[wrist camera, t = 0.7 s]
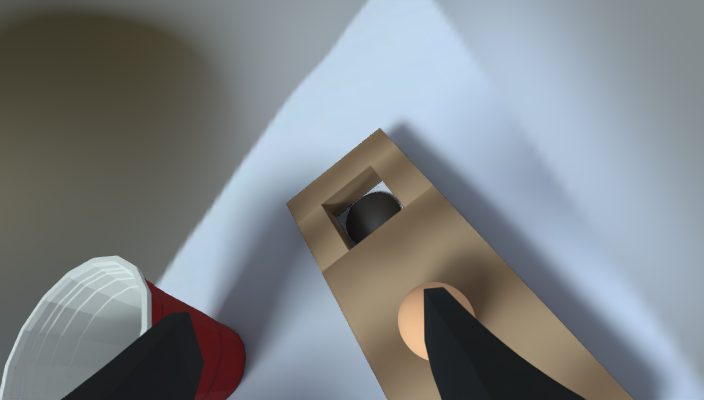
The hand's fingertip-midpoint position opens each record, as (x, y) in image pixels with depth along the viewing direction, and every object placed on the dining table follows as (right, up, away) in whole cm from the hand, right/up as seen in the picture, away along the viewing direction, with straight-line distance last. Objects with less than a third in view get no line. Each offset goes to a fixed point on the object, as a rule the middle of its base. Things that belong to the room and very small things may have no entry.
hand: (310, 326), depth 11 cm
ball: (+6, -2, +8) cm, 10 cm away
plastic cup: (-9, -10, +19) cm, 23 cm away
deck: (+6, -2, +14) cm, 15 cm away
